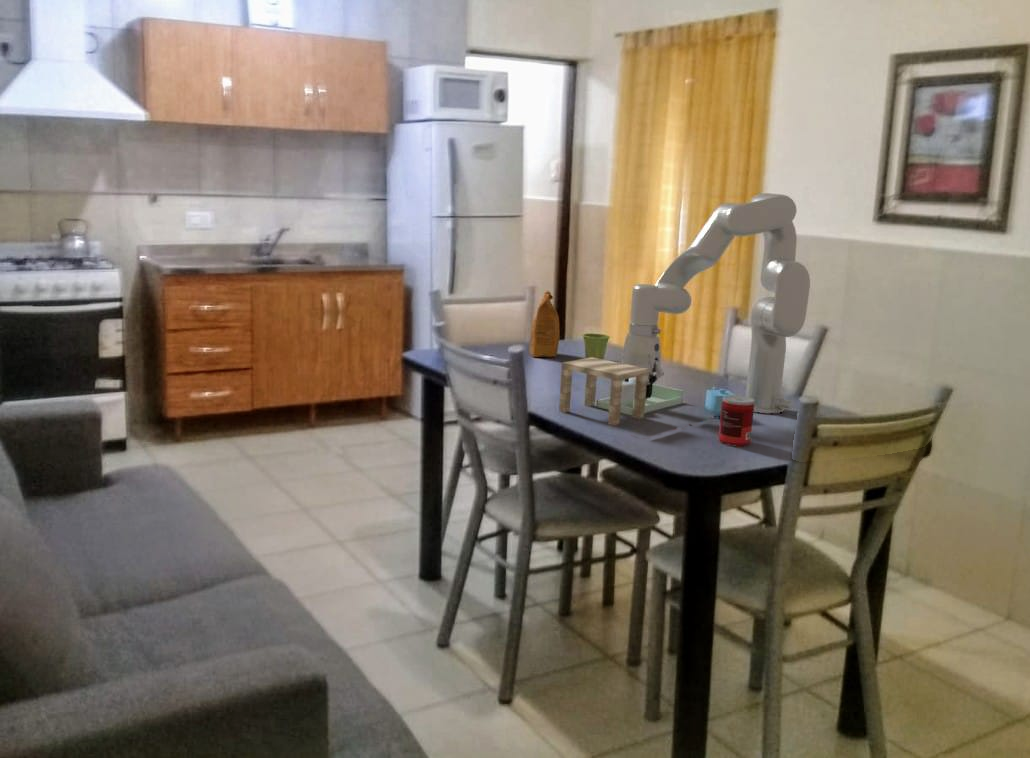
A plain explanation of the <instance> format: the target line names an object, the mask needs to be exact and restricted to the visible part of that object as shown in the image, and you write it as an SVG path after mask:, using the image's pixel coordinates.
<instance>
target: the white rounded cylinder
mask: <svg viewBox="0 0 1030 758" xmlns="http://www.w3.org/2000/svg"><path fill="white" fill-rule="evenodd" d="M634 391H635V384H634V383H631V382H625V381H623V382H622V394H621V406H626V407H630V408H633V404H634Z"/></svg>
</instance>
